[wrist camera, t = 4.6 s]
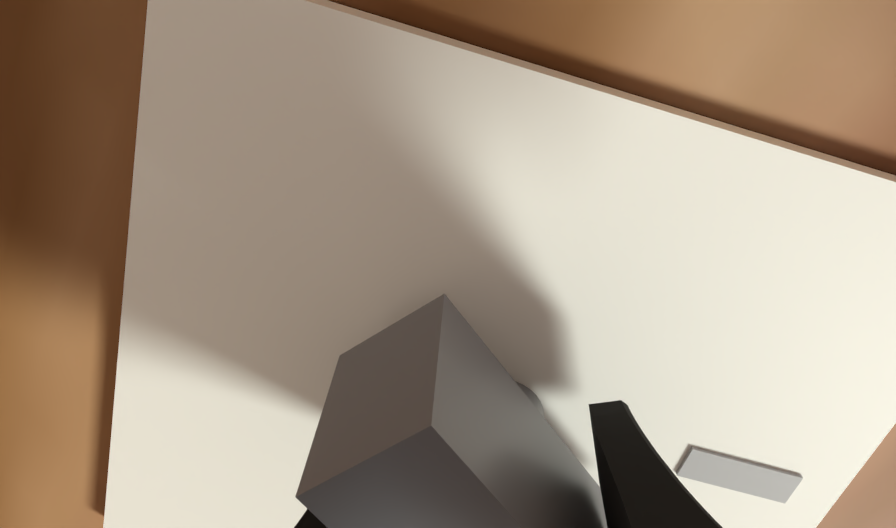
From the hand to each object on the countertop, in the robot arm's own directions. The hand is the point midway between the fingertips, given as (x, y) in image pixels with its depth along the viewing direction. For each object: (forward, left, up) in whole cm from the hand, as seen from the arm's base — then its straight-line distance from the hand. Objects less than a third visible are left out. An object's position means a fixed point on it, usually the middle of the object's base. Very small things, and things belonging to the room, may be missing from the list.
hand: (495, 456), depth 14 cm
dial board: (0, 0, -2) cm, 2 cm away
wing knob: (0, 0, -1) cm, 1 cm away
